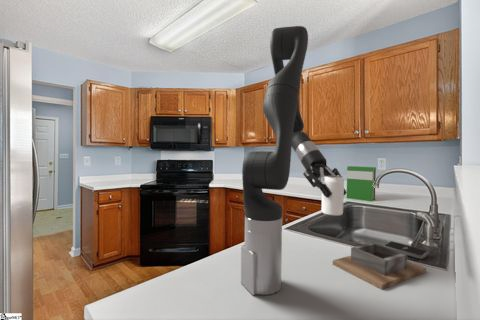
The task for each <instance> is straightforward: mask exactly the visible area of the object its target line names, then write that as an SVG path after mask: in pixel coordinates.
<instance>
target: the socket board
mask: <svg viewBox="0 0 480 320" xmlns="http://www.w3.org/2000/svg"><path fill="white" fill-rule="evenodd" d="M332 265H333V266H336V267H337V268H339V269H341V270H343V271H345V272H347V273H349V274H351V275H353V276H355V277H357V278H359V279H360V280H362V281H364V282H366V283H368V284H370V285H372V286H374V287H376V288H378V289H379V290H384V289H386V288H389V287H392V286H394V285H396V284H397V285H398V284H400V283H403V282H404V281H407V280H410V279H413V278H414V277H415V278H416V277H417V276H419V275H423V274H425V273H427V267H425V266H422V265H419V264H417V263H414V262H412V261H409V260H408V257H407V254H405V253H402V252H399V251H396V250H393V249H391V248H388V247H385V246H384V245H382V244H379V243H376V242H370V243H365V244H361V245H357V246H356V245H355V246H353V247H351V248H350V255H348V256H347V255H346V256H344V257H340V258H337V259H333V260H332Z"/></svg>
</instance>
